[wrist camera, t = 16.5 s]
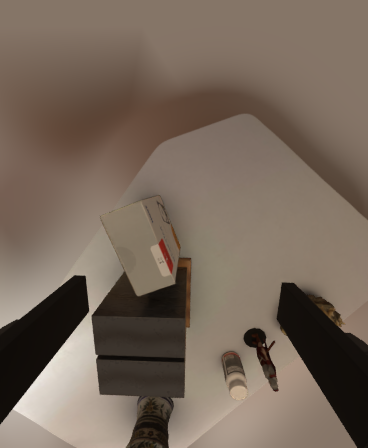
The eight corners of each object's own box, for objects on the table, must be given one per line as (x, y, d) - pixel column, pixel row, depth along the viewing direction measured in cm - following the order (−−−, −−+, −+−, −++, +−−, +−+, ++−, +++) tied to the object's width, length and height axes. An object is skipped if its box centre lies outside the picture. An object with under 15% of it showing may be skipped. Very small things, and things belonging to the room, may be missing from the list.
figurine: (242, 329, 56) (261, 380, 42) (267, 326, 56) (294, 377, 41) (244, 348, 58) (263, 403, 43) (268, 345, 57) (295, 401, 43)
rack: (126, 256, 53) (84, 305, 32) (190, 258, 52) (191, 308, 31) (130, 322, 57) (95, 402, 36) (189, 323, 57) (189, 406, 36)
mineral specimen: (296, 340, 57) (318, 372, 47) (266, 314, 55) (282, 342, 45) (335, 308, 54) (366, 336, 44) (304, 280, 53) (330, 302, 43)
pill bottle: (234, 368, 60) (243, 404, 50) (218, 362, 59) (224, 397, 50) (243, 354, 58) (253, 388, 49) (226, 348, 58) (233, 381, 48)
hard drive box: (181, 247, 52) (176, 285, 32) (155, 256, 52) (135, 299, 33) (160, 193, 49) (140, 200, 29) (133, 204, 50) (96, 217, 30)
